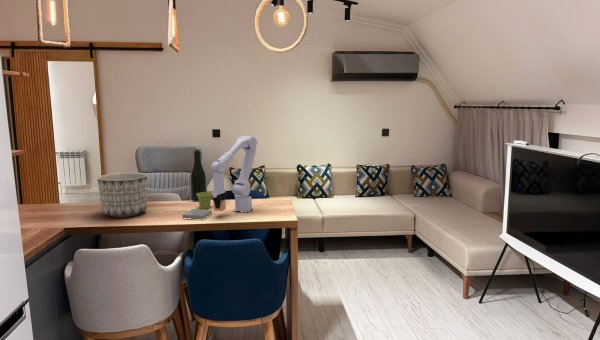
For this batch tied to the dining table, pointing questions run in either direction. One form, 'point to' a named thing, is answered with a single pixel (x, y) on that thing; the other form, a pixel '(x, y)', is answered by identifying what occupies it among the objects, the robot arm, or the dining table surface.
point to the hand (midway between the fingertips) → (219, 207)
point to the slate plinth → (197, 214)
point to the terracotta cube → (221, 206)
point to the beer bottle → (197, 177)
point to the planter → (123, 193)
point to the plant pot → (204, 199)
